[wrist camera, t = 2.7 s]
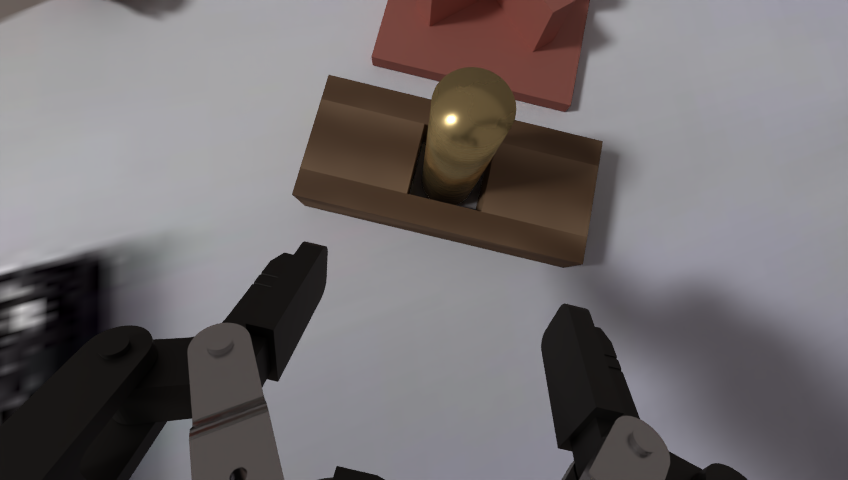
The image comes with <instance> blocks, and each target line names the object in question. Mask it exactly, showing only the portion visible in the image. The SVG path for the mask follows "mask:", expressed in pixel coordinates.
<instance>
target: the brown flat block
mask: <svg viewBox="0 0 848 480" xmlns="http://www.w3.org/2000/svg"><path fill="white" fill-rule="evenodd" d="M430 109H431V100H430V99H426V98H422V97H418V96H414V95H410V94H406V93H402V92H397V91H393V90H389V89H385V88H381V87H377V86H373V85H369V84H365V83H360V82H356V81H352V80H348V79H344V78H340V77H336V76H332V75H329V76H328V79H327V82H326V85H325V89H324V92H323V95H322V99H321V102H320V105H319V108H318V112H317V115H316V118H315V121H314V125H313V128H312V131H311V134H310V138H309V141H308V144H307V147H306V151H305V154H304V157H303V160H302V164H301V167H300V170H299V173H298V177H297V180H296V183H295V186H294V190H293V193H292V195H293V196H294V197H296V198H297V199H298V200H299V201H300V202H301V203H302V204H304V205H305V206H308V207H313V208H317V209H321V210H325V211H329V212H334V213H338V214H342V215H346V216H350V217H354V218H359V219H363V220H367V221H371V222H375V223H379V224H384V225H388V226H392V227H396V228H400V229H404V230H409V231H413V232H417V233H421V234H425V235H429V236H434V237H438V238H442V239H446V240H450V241H454V242H459V243H463V244H467V245H471V246H475V247H479V248H484V249H488V250H492V251H496V252H500V253H504V254H509V255H513V256H517V257H521V258H525V259H529V260H534V261H538V262H542V263H546V264H550V265H554V266H559V267H563V268H564V267H570V266H575V265H581V264H583V260H584V254H585V248H586V241H587V235H588V229H589V223H590V217H591V210H592V204H593V198H594V192H595V186H596V179H597V173H598V167H599V161H600V155H601V149H602V142H603V141H599V140H595V139H591V138H587V137H583V136H578V135H574V134H570V133H566V132H562V131H558V130H554V129H550V128H546V127H541V126H537V125H533V124H529V123H525V122H521V121H517V120H514V122H513V125H512V127H511V128H510V130H509V132H508V133H507V135H506V136H505V138H504V140H503V141H502V143H501V145H500V146H499V148H498V149H497V151H496V153H495V154H494V156H493V158H492V159H491V161H490V162H489V164H488V166H487V167H486V169H485V170H484V174H483V179H482V183H481V188H480V193H479V197H478V202H477V206H476V210H473V209H469V208H464V207H460V206H456V205H452V204H448V203H444V202H440V201H435V200H431V199H427V198H423V197H419V196H415V195H410V191H411V187H412V183H413V179H414V175H415V171H416V167H417V163H418V159H419V155H420V151H421V147H422V143H423V142H424V143H426V141H427V133H428V125H429V117H430Z"/></svg>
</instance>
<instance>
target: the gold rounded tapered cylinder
mask: <svg viewBox="0 0 848 480" xmlns="http://www.w3.org/2000/svg"><path fill="white" fill-rule="evenodd" d="M515 115H516V102H515V98H514V95H513V93H512V91H511V89H510V87H509V86H508V84H507V83H506V82H505V81H504V80H503V79H502V78H501V77H499V76H498V75H497V74H495V73H493V72H491V71H489V70H486V69H483V68H477V67H466V68H461V69H457V70H455V71H453V72H451V73H449V74H447V75H446V76H445V77H444V78H443V79H441V81H440V82H439V83H438V84H437V86H436V88H435V90H434V92H433V95H432V100H431V109H430V117H429V125H428V133H427V141H426V149H425V157H424V165H423V173H422V186H423V190H424V192H425V194H426V195H427V196H428V198H429V199H431V200H435V201H440V202H444V203H448V204H452V205H457V204H460V203H461V202H463V201H464V200H466V198H467V197H468V196H469V195H470V193H471V192H472V190H473V188H474V187H475V185H476V183H477V182H478V180H479V179H480V177H481V175H482V174H483V172H484V170H485V169H486V167H487V166H488V164H489V162H490V161H491V159H492V158H493V156H494V154H495V153H496V151H497V149H498V148H499V146H500V145H501V143H502V141H503V140H504V138H505V136H506V135H507V133H508V132H509V130H510V128H511V127H512V125H513V122H514V120H515Z"/></svg>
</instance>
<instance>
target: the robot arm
mask: <svg viewBox="0 0 848 480" xmlns="http://www.w3.org/2000/svg"><path fill="white" fill-rule="evenodd" d="M327 255H328V249H327V247H326V246H322V245H318V244H314V243H309V242H303V243H302V244H301V245H300V247H299V248H298V250H297V251H296V252H295V254H294V255H292V254H288V253H283V254H281V255H280V256H278V257H276V258H275V259H273V260H271V261H270V262H269V264H268V265H267V266H266V267H265V269H264V270H263V271H262V273H261V275H259V276H258V278H257V279H256V280H255V282H254V284H252V285H251V287H250V288H249V289H248V291H247V292H246V293H245V295H244V296H243V297H242V298H241V300H240V301H239V302H238V304H237V305H236V306H235V307H234V309H233V310H232V311H231V313H230V314H229V315H228V316H227V318H226V319H225V320H224V321H223V322H222V323H220V324H216V325H212V326H210V327H207V328H206V329H204V330H202V331H201V332H199V333H198V334H197V335H196V336H195V337H190V338H175V339H155V340H153V339H152V336H151V334H150V333H149V331H147V330H146V329H144V328H142V327H139V326H120V327H116V328H112V329H109V330H106V331H104V332H102V333H100V334H98V335H96V336H95V337H93V338H92V339H90V340H89V341H88V342H87V343H86V344H85V345H83V346H82V347H81V348H80V349H79V350H78V351H77V352H76V353H75V354H74V355H73V356H72V357H71V358H70V359H69V360H68V361H67V362H66V363H65V364H64V365H63V366H62V367H61V368H60V369H59V370H58V371H57V372H56V373H55V374H54V375H53V376H52V377H51V378H50V379H49V380H48V381H47V382H46V383H45V384H44V385H42V386H41V387H40V388H39V389H38V390H37V391H36V392H35V393H34V394H33V395H32V396H31V397H30V398H29V399H28V400H27V401H26V402H25V403H24V404H23V405H22V406H21V407H20V408H19V409H18V410H17V411H16V412H15V413H14V414H13V415H12V416H11V417H10V418H9V419H8V420H7V421H6V422H5V423H4V424H3V425H1V426H0V480H129V479H130V477H131V476H132V474H133V473H134V471H135V470H136V468H137V466H138V465H139V463H140V462H141V460H142V459H143V457H144V456H145V454H146V453H147V451H148V450H149V448H150V447H151V445H152V444H153V442H154V441H155V439H156V438H157V436H158V434H159V433H160V431H161V430H162V428H163V427H164V425H165V424H166V422H167V421H173V420H182V419H191V418H192V422H193V425H192V428H191V429H190V433H189V444H190V460H191V475H192V480H284V477H283V472H282V468H281V464H280V459H279V455H278V451H277V446H276V442H275V437H274V433H273V429H272V424H271V420H270V415H269V411H268V407H267V403H266V401H265V399H264V395H263V390H262V387H263V385H264V383H265V381H266V380H267V379H269V380H273V381H277V382H278V381H279V379H280V377H281V375H282V373H283V371H284V369H285V367H286V365H287V364H288V362H289V360H290V358H291V356H292V354H293V352H294V350H295V348H296V346H297V344H298V342H299V340H300V338H301V336H302V335H303V333H304V331H305V329H306V327H307V325H308V323H309V321H310V319H311V317H312V315H313V313H314V311H315V309H316V307H317V305H318V304H319V302H320V300H321V298H322V295H323V293H324V290H325V286H326V278H327ZM541 350H542V357H543V362H544V368H545V374H546V380H547V386H548V392H549V398H550V404H551V410H552V416H553V422H554V427H555V433H556V439H557V445H558V448H559V449H564V450H568V451H572V452H573V457H574V461H573V462H572V463H571V465H570V466H569V468H568V469H567V471H566V473H565V474H564V476H563V478H562V480H747V479H746V478H745V477H744V476H743V475H742V474H740V473H739V472H737V471H736V470H734V469H733V468H731V467H729V466H726V465H723V464H719V463H714V464H711V465H709V466H708V467H706V468H704V469H703V470H702V469H700V468H699V467H697V466H695V465H693V464H691V463H689V462H687V461H686V460H684V459H682V458H680V457H678V456H676V455H675V454H673V453H671V452H669V451H668V449H667V446H666V445H665V443H664V441H663V440H662V438H661V437H660V436H659V434H658V433H657V432H656V431H655V430H654V429H653V428H652V427H651V426H649V425H648V424H647V423H645V422H644V421H642V420H640V418H639V415H638V412H637V410H636V407H635V404H634V402H633V399H632V396H631V394H630V391H629V388H628V386H627V383H626V380H625V377H624V375H623V372H621V367H620V364H619V361H618V360H617V359H616V358H617V356H616V353H615V351H614V348H613V345H612V342H611V341H610V340H609V339H608V337H607V336H606V335H605V333H604V332H603V331H602V329H601V328H598V327H595V326H594V323H593V320H592V317H591V314H590V312H589V310H588V309H585V308H581V307H577V306H573V305H568V304H562V305H561V306H560V308H559V309H558V311H557V313H556V314H555V316H554V317H553V319H552V321H551V322H550V324H549V326H548V327H547V329H546V330H545V332H544V335H543V338H542V343H541ZM319 480H384V479H383V478H381V477H379V476H377V475H373V474H369V473H365V472H360V471H356V470H352V469H347V468H343V467H339V466H337V467H336V470H335V473H334V477H333V478H324V479H319Z"/></svg>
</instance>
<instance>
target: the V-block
mask: <svg viewBox="0 0 848 480" xmlns="http://www.w3.org/2000/svg"><path fill="white" fill-rule="evenodd" d="M589 1H590V0H388V2H387V5H386V9H385V12H384V16H383V19H382V23H381V26H380V30H379V33H378V37H377V40H376V43H375V47H374V50H373V54H372V63H373V65H374V66H379V67H383V68H387V69H391V70H395V71H399V72H403V73H407V74H411V75H415V76H420V77H424V78H428V79H432V80H436V81H441V79H443V78H444V77H445V76H446V75H447V74H449V73H451V72H453V71H455V70H457V69H461V68H466V67H477V68H483V69H486V70H489V71H491V72H493V73H495V74H497V75H498V76H499V77H501V78H502V79H503V80H504V81H505V82H506V83H507V84H508V86H509V87H510V89H511V91H512V93H513V95H514V98H515V100H518V101H522V102H526V103H530V104H535V105H539V106H543V107H547V108H551V109H555V110H559V111H563V112H565V111H566V110H567V109H568V108H569V107H570V106H571V101H572V95H573V90H574V84H575V79H576V73H577V68H578V62H579V57H580V51H581V46H582V40H583V34H584V29H585V23H586V18H587V12H588V7H589Z"/></svg>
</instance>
